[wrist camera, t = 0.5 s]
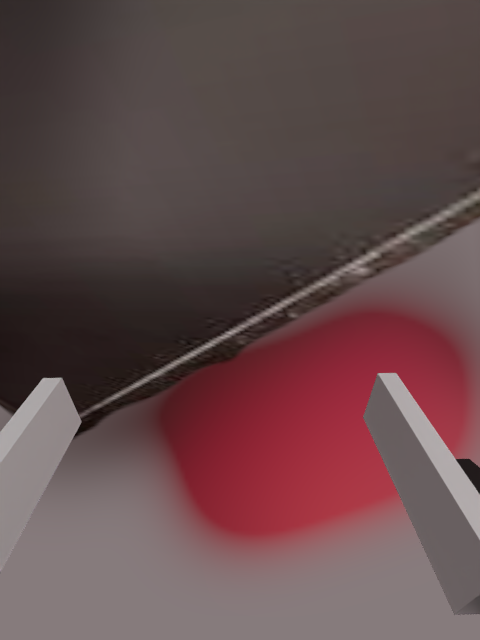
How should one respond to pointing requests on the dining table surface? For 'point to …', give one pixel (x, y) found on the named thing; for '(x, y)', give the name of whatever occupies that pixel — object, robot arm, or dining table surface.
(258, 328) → the dining table surface
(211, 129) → the dining table surface
